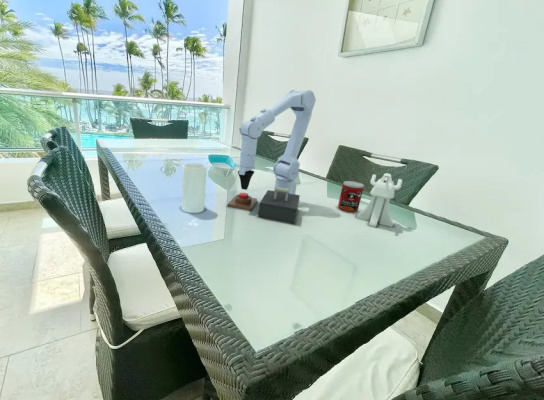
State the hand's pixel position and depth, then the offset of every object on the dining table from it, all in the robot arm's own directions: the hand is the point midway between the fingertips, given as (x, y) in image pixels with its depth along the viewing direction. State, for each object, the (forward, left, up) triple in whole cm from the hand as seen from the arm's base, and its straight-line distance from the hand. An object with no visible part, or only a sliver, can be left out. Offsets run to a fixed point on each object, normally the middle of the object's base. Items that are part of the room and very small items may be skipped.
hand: (244, 189), depth 106 cm
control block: (0, 0, -6) cm, 6 cm away
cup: (+20, -6, -6) cm, 22 cm away
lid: (-5, +14, -1) cm, 15 cm away
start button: (0, 0, -4) cm, 4 cm away
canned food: (-34, +27, -6) cm, 44 cm away
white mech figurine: (-30, +39, -6) cm, 50 cm away
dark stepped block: (-5, +14, -6) cm, 16 cm away
